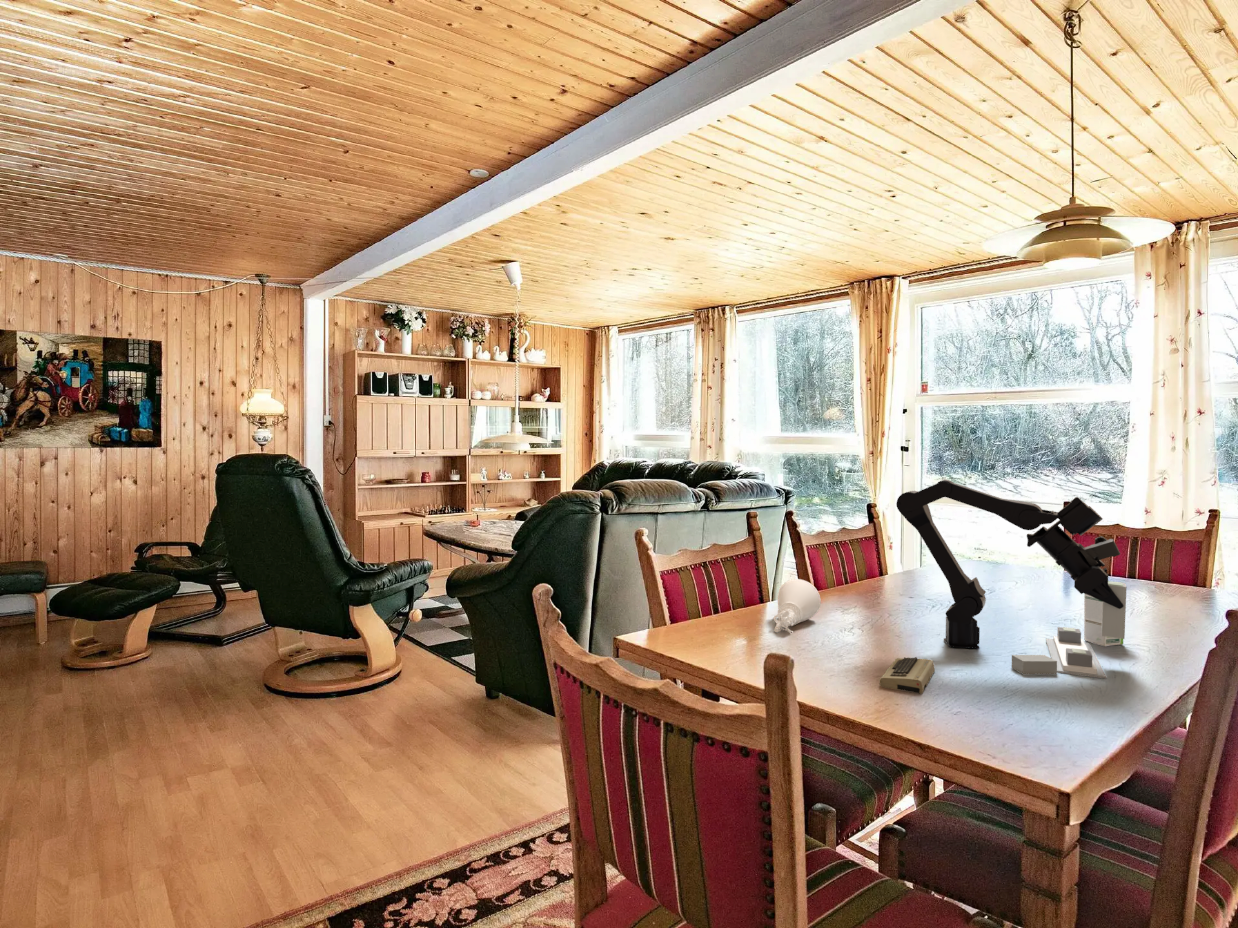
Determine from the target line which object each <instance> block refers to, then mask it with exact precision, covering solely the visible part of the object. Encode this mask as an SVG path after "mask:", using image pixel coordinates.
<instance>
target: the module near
mask: <svg viewBox="0 0 1238 928" xmlns="http://www.w3.org/2000/svg"><path fill="white" fill-rule="evenodd" d="M1066 662H1067V665H1074V666H1082V667H1091V668H1092V654H1091V652H1090V651H1087V650H1083V649H1073V648H1072V649H1069V648H1066Z"/></svg>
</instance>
